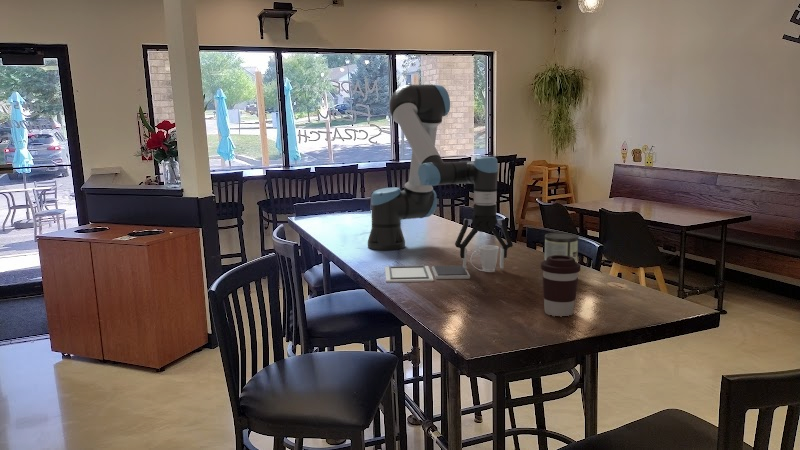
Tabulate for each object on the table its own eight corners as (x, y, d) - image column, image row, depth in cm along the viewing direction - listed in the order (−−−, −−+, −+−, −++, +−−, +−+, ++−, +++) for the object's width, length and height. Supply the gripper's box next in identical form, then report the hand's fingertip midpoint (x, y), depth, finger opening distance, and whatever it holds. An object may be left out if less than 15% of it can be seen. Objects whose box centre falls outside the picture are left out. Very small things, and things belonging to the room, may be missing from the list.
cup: (502, 272, 200) (502, 248, 199) (473, 274, 199) (473, 250, 197) (495, 267, 207) (495, 244, 206) (467, 269, 205) (467, 246, 204)
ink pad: (431, 269, 206) (431, 265, 205) (463, 268, 206) (463, 264, 206) (435, 279, 193) (435, 275, 193) (470, 278, 193) (470, 274, 193)
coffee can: (545, 273, 199) (546, 231, 196) (577, 276, 195) (579, 233, 193) (541, 281, 189) (543, 237, 187) (575, 284, 186) (577, 239, 183)
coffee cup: (534, 308, 163) (536, 254, 160) (570, 306, 163) (572, 252, 161) (546, 320, 153) (548, 262, 150) (584, 318, 154) (586, 261, 151)
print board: (384, 268, 207) (384, 265, 207) (428, 267, 208) (428, 264, 208) (386, 282, 190) (386, 279, 189) (433, 281, 190) (433, 278, 190)
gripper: (450, 205, 195) (448, 270, 198) (523, 205, 196) (521, 269, 200) (447, 202, 202) (446, 265, 206) (518, 202, 203) (515, 264, 207)
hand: (483, 267), depth 203 cm, fingers open, 12 cm apart
